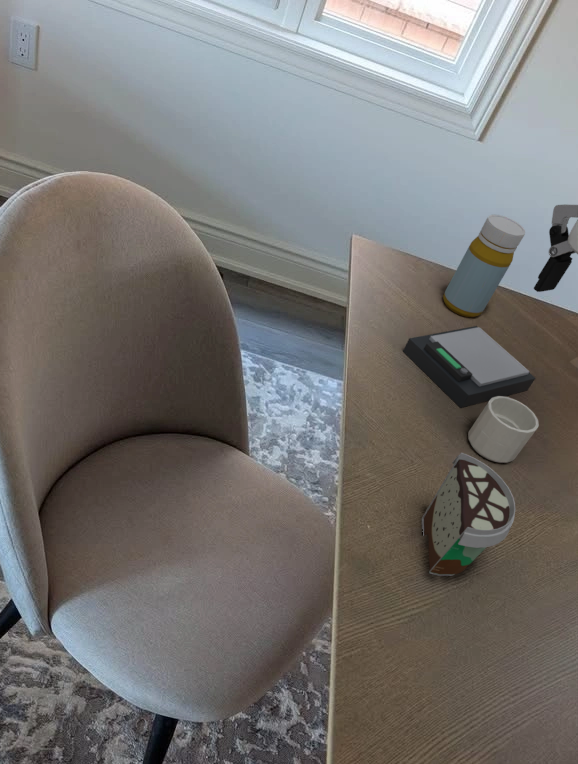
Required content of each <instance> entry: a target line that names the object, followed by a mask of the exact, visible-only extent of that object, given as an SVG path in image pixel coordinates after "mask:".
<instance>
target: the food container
mask: <svg viewBox="0 0 578 764" xmlns="http://www.w3.org/2000/svg"><path fill="white" fill-rule="evenodd" d="M451 463H452V466H451V468H450V470H449V471H448V473H447V474H446V476H445V478H444V479H443V481H442V483H441V485H440V486H439V488H438V489H437V492H435V495H434V496H433V498H432V500H431V501H430V503H429V505H428V507H427V508H426V509H425V511H424V513H423V515H422V517H421V533H422V532H423V536H422V537H424V536H428V538H427V539H428V540H427V541H428V561H429V571H428V574H430V575H435V576H440V577H445V576H446V577H449V576H450V577H452V576H456V575H458V574H461V573H463V572H464V571H465V570H466V569H467V568H468V567H469V566H470V565H471V564H472V563H473V562H474V561H475V560H476V559H477V558H478V557H479V556H480V555H481V554H482V553H483V552H484V551H485V550H486V549H487V548H488V547H493V546H495V545H499V543H501V542H503V541H504V540H505V539H506V537H508V535H509V532H510V531H511V528H512V525H513V523H514V520H515V516H516V501H515V497H514V495H513V494H512V491H511V489H510V487H509V486H508V485H507V483H506V482H505V481H504V479H503V478H502V477H501V476H500V475H499V474H498V472H496V471H495V470H493V469H492V468H491V467H490V466H488V465H487V464H486V463H484V462H483V461H481V460H480V459H478V458H475V457H473V456H471V455H469V454H467V453H464V452H460V453H459V454H458V455H457V456H456V457H455V458H454V459H453V460H452V462H451ZM422 529H423V531H422Z"/></svg>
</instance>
